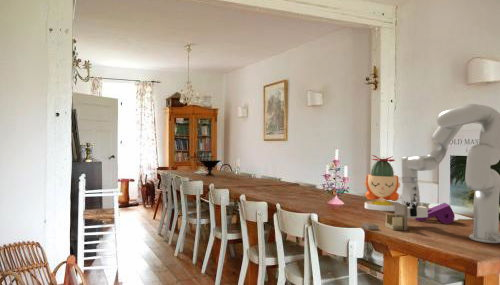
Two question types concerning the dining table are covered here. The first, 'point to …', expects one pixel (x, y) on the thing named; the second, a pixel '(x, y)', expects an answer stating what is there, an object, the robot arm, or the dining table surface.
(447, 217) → the mounting bracket
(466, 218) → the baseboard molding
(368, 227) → the rest block
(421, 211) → the cream rail
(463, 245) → the dining table surface
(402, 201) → the seated beast figurine
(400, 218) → the cup bracket
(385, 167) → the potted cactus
